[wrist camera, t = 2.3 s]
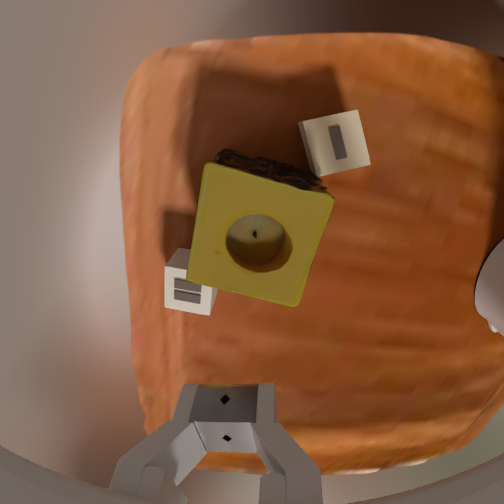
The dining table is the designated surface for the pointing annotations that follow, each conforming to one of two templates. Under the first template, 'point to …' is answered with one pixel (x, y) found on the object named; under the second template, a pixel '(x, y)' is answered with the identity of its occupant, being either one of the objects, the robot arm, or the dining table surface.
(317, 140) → the beech block marked
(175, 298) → the cream block marked
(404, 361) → the dining table surface
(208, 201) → the candle
